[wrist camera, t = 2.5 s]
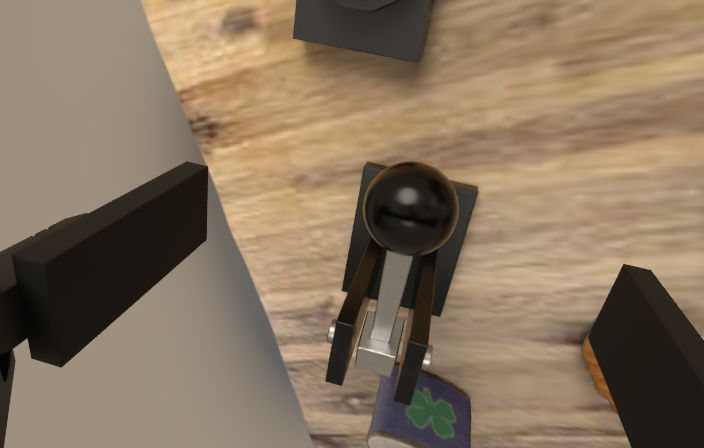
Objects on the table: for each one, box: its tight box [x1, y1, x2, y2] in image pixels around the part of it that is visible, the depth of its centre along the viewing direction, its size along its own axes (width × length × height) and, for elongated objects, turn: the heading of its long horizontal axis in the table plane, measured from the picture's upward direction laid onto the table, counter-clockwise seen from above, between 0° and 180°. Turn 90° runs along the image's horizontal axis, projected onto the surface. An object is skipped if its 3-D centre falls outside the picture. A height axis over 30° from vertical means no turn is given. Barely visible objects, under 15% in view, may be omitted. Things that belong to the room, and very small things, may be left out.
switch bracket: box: [326, 162, 478, 405], centre depth 32 cm, size 12×9×16 cm
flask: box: [367, 362, 471, 448], centre depth 40 cm, size 9×3×11 cm, turn 69°
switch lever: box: [355, 161, 459, 377], centre depth 22 cm, size 15×4×4 cm, turn 170°
